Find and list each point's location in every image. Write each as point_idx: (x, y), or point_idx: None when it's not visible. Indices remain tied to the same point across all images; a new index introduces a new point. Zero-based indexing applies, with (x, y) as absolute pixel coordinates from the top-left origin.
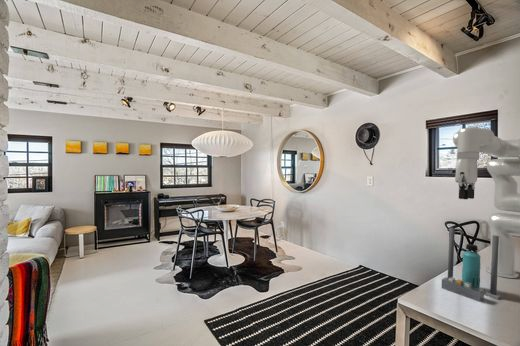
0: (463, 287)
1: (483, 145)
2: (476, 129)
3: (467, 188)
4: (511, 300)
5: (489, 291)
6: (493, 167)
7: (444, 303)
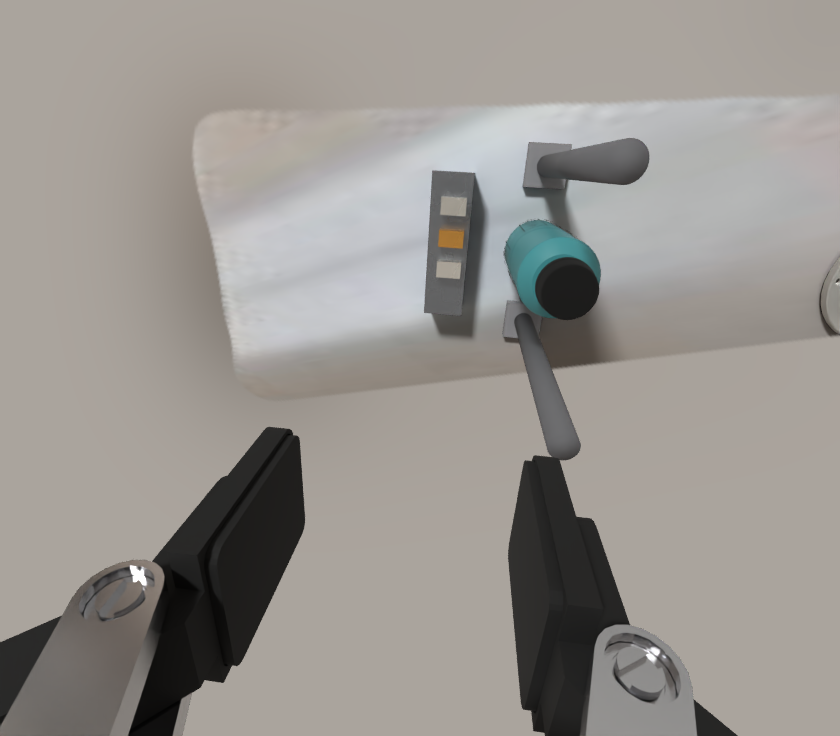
0: (427, 258)
1: None
2: None
3: (187, 710)
4: None
5: None
6: None
7: (305, 232)
